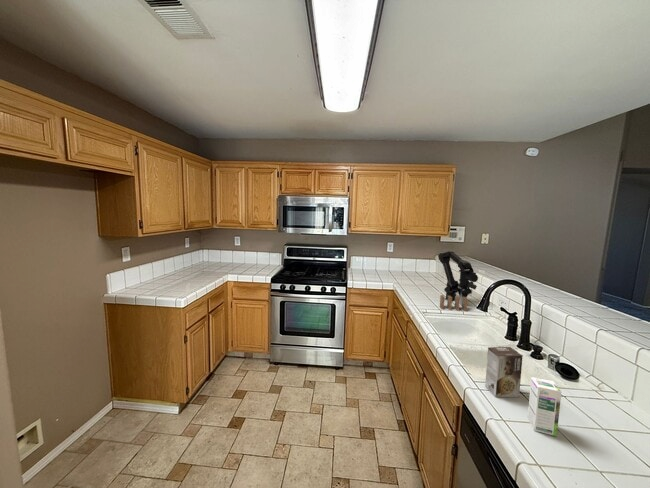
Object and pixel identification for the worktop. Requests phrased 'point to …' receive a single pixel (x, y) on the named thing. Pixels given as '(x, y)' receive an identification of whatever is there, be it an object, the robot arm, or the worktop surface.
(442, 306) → the domino
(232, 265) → the worktop surface
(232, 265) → the worktop surface
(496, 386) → the coffee box
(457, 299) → the domino
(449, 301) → the domino
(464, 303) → the domino
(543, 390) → the syrup box
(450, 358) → the worktop surface
